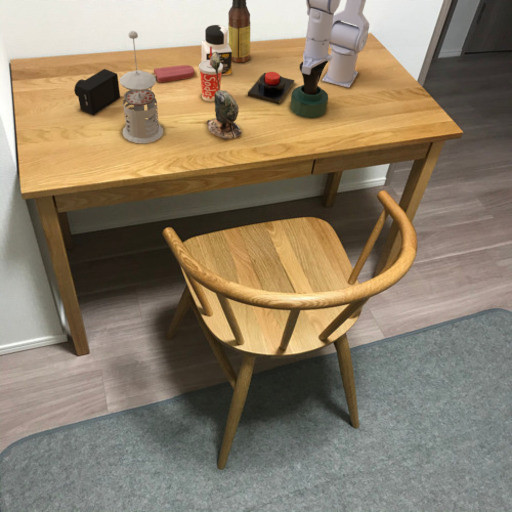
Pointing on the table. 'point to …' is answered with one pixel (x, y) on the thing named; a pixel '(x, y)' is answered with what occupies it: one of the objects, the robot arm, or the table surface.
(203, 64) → the beverage cup
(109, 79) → the digital camera
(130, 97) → the french press
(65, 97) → the table surface
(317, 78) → the brown cylinder
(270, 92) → the button box
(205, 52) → the medicine bottle
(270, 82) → the button
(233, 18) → the sauce bottle
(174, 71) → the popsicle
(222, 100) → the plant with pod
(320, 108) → the green stepped cylinder
